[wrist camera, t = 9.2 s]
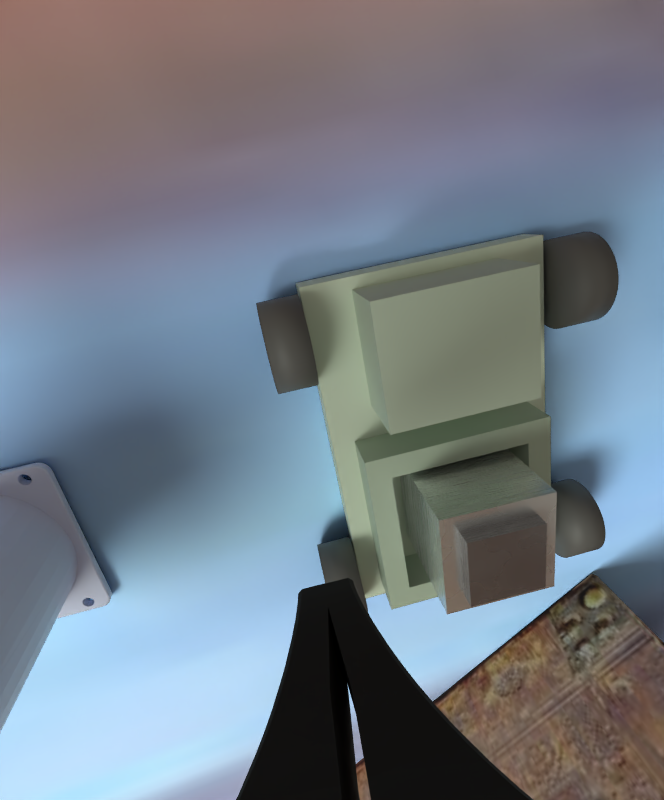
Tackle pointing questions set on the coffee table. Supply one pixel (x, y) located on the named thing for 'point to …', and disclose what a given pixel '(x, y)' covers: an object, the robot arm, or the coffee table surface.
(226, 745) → the coffee table surface
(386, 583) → the chassis
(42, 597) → the robot arm
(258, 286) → the coffee table surface
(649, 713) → the brown rectangular box
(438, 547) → the engine block
